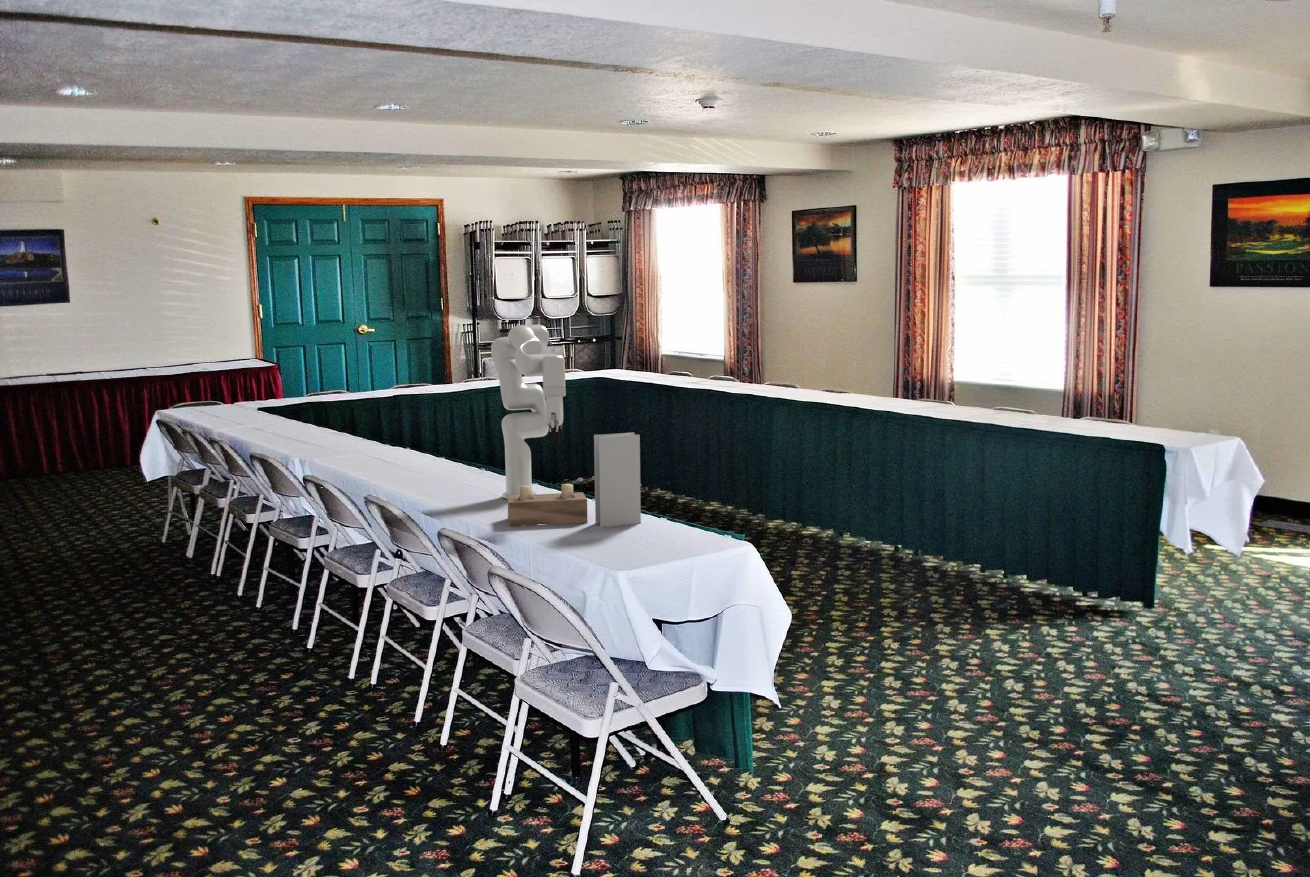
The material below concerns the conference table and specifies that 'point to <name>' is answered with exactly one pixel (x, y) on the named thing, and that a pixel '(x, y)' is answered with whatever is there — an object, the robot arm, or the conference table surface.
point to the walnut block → (547, 509)
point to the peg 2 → (567, 490)
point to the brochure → (617, 479)
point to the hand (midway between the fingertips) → (556, 442)
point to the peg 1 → (526, 493)
